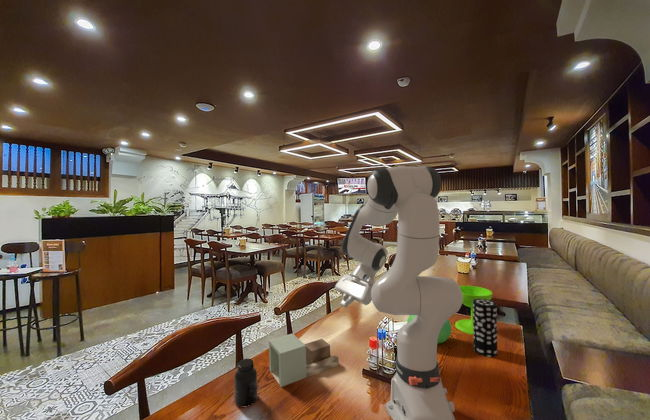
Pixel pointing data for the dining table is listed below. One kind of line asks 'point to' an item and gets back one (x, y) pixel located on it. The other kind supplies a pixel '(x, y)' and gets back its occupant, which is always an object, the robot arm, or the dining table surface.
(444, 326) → the gravy boat
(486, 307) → the white-spotted black cylinder
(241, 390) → the supplement bottle
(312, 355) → the block
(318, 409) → the dining table surface
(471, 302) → the wineglass
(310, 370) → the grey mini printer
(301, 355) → the pale sage box
